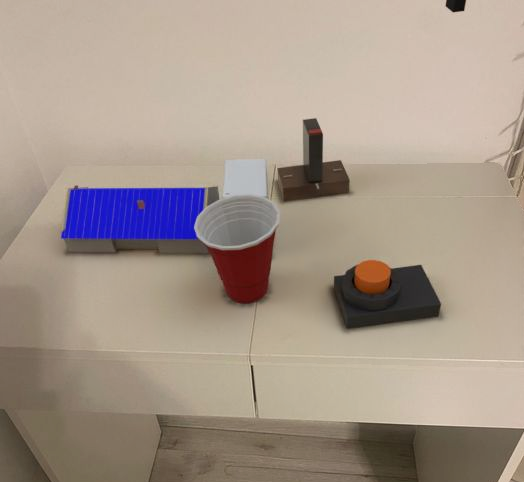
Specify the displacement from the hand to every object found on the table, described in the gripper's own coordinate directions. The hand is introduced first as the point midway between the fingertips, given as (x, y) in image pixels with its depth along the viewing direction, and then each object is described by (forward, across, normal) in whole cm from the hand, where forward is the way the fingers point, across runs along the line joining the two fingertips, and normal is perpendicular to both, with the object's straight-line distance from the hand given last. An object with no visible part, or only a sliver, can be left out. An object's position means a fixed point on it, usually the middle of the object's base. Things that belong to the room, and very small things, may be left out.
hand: (454, 8), depth 72 cm
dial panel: (+26, -18, +5) cm, 32 cm away
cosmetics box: (+26, -30, -7) cm, 41 cm away
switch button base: (+26, -14, -25) cm, 39 cm away
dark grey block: (+24, -18, +5) cm, 30 cm away
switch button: (+23, -16, -25) cm, 38 cm away
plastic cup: (+26, -32, -19) cm, 46 cm away
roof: (+26, -46, -1) cm, 53 cm away
